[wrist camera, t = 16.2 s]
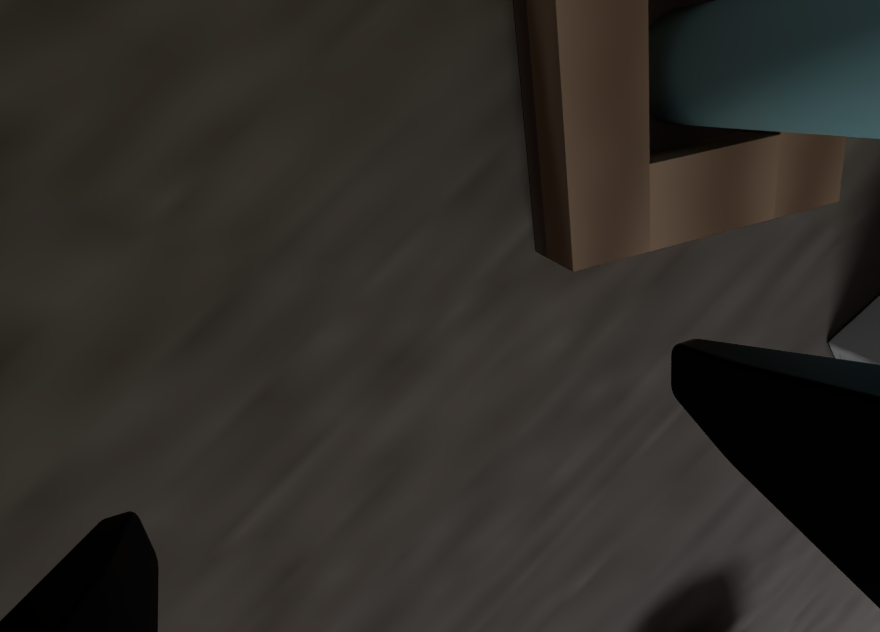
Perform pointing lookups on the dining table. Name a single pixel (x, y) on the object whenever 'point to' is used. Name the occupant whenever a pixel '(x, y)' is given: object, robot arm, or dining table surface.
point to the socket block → (641, 144)
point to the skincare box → (860, 337)
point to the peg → (769, 66)
